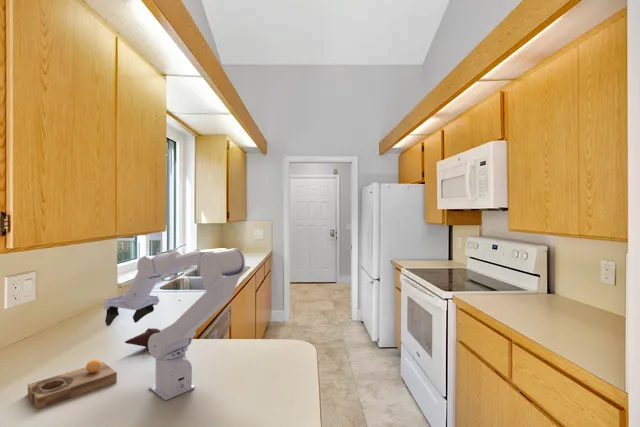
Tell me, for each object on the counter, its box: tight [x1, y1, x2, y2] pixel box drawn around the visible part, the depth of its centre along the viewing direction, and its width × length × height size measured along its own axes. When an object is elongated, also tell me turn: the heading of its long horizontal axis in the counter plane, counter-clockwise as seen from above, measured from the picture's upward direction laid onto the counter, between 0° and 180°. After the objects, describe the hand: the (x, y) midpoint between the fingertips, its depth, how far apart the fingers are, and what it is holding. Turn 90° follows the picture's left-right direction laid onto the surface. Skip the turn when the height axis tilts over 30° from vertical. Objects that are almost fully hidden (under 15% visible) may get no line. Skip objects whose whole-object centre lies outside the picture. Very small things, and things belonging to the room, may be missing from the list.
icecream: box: [124, 327, 161, 351], centre depth 116 cm, size 7×8×15 cm
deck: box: [27, 361, 118, 410], centre depth 90 cm, size 10×17×2 cm, turn 141°
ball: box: [85, 358, 102, 373], centre depth 93 cm, size 3×3×3 cm
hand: (121, 321), depth 100 cm, fingers open, 7 cm apart
